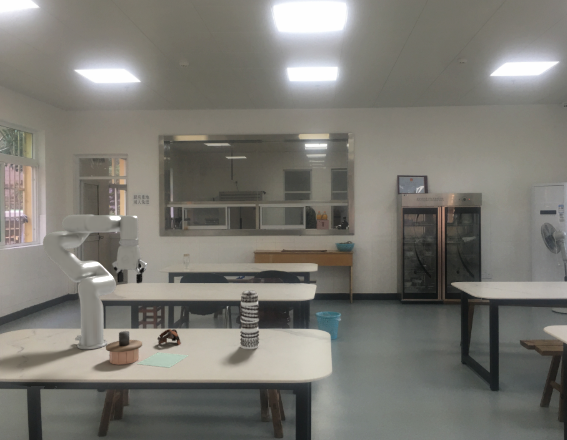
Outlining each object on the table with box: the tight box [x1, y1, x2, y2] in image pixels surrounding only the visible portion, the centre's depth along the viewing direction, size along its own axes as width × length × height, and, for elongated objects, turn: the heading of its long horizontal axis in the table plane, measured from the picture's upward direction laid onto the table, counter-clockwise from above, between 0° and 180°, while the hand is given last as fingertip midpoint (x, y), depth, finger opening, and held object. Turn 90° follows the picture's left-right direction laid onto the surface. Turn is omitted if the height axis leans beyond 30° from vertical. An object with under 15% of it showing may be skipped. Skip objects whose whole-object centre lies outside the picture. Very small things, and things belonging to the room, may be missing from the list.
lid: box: [105, 330, 143, 353], centre depth 176 cm, size 14×14×6 cm
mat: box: [136, 351, 189, 368], centre depth 177 cm, size 15×15×1 cm
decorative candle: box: [238, 290, 260, 350], centre depth 195 cm, size 9×9×25 cm
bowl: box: [109, 348, 140, 366], centre depth 176 cm, size 11×11×6 cm
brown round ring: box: [157, 328, 182, 346], centre depth 199 cm, size 12×10×8 cm
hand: (129, 282), depth 189 cm, fingers open, 9 cm apart
